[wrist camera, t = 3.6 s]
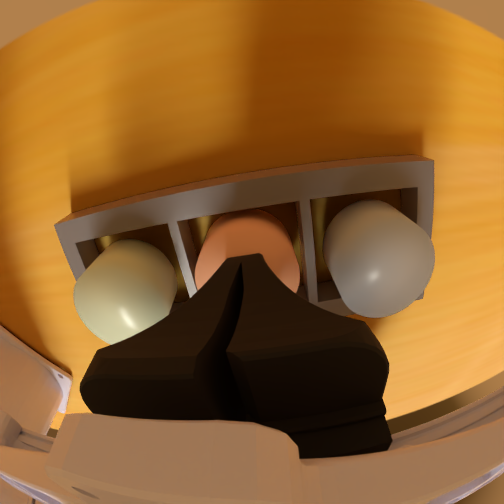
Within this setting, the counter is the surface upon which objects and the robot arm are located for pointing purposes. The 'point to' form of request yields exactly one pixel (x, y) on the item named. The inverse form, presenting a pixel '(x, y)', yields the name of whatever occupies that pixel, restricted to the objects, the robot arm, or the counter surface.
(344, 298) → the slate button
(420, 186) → the gray compartment tray
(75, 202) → the counter surface
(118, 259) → the sage button
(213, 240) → the orange rounded dome
